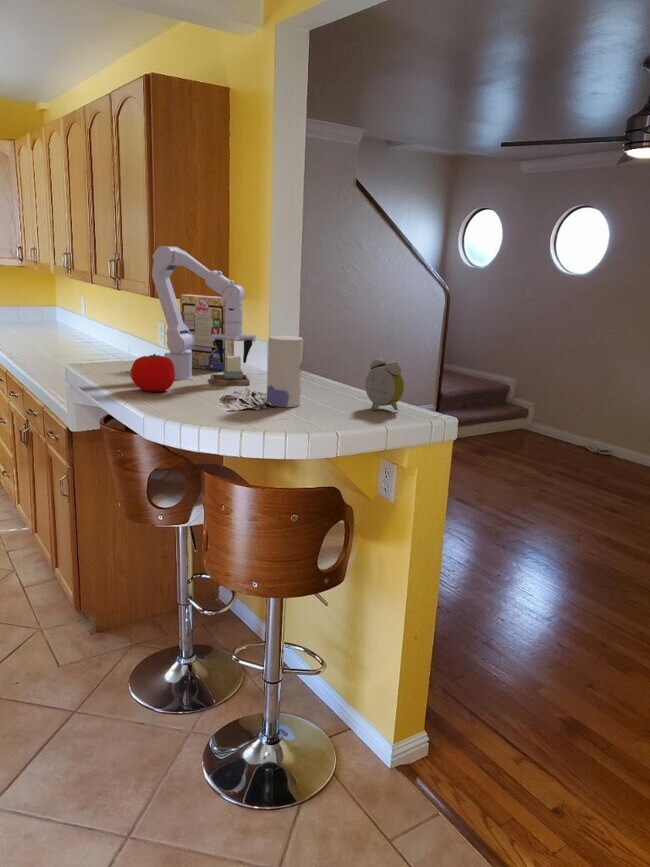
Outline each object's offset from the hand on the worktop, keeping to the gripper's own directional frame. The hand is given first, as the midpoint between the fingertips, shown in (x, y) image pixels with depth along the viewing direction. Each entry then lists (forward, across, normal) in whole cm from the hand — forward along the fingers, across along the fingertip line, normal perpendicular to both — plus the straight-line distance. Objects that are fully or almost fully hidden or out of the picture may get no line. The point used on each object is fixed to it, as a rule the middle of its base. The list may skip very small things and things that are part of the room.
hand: (233, 362), depth 225 cm
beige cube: (+3, 0, 0) cm, 3 cm away
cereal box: (+7, -7, +29) cm, 31 cm away
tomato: (+7, -26, -13) cm, 30 cm away
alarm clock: (+7, +40, -40) cm, 57 cm away
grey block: (+7, 0, 0) cm, 7 cm away
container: (+7, +12, -32) cm, 35 cm away
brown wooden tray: (+7, -1, 0) cm, 7 cm away
